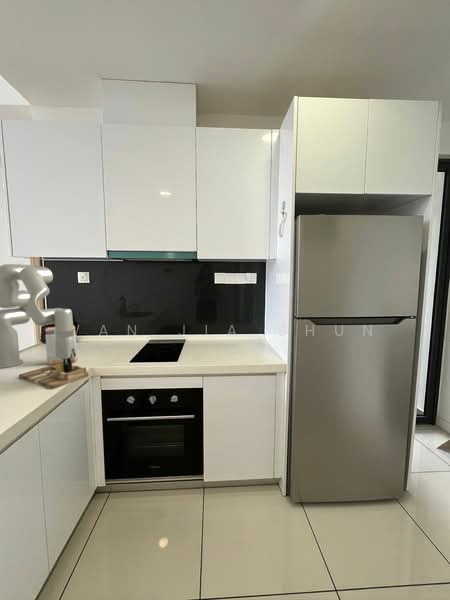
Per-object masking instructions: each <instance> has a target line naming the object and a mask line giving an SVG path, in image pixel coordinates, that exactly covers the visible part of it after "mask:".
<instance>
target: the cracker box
mask: <svg viewBox="0 0 450 600" xmlns="http://www.w3.org/2000/svg"><path fill="white" fill-rule="evenodd" d="M73 330H74V340H75V345H76V346H77V337H76V326H75V325H73ZM44 331H45V347H46V361H47V365H48V366H51V365H54V364H55V365H58V364H62V359H60V358H58V357H56V351H55V342H56V331H55V326H50V327H47V328H45V329H44ZM77 351H78V350H77V348H76V356H75V360H73V361H72V364H73V363H76V362H77V360H78V352H77Z"/></svg>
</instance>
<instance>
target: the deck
mask: <svg viewBox="0 0 450 600" xmlns="http://www.w3.org/2000/svg"><path fill="white" fill-rule="evenodd" d="M55 365H56V364H54V365H48V366H44V367H40V368H37V369H33V370H30V371H27V372H24V373H21V374H18V378H19V379H22V380H25V381H28V382H30V383H34V384H37V385H40V386H43V387H46V388H49V389H52V390H53V389H57V388H60V387H63V386H65V385H68V384H71V383H73V382H76V381H79V380H82V379H85V378H87V377H89V373H88V372H86V374H84V375H81V376H78V377H76V378H73V379H70V380H67V381H66V380H62V379H59V378H55V377H52V376H50V370H52V369H53V370H56V368H55ZM70 372H73V371H69V372H65V373H70Z"/></svg>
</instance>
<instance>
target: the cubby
mask: <svg viewBox="0 0 450 600" xmlns="http://www.w3.org/2000/svg"><path fill="white" fill-rule="evenodd" d="M72 371H73V372H70V373H64V372H60V371H56V370H53V369H52V370H50V371H49V372H50V376H52V377H55V378H59V379H62V380H66V381H67V380H70V379H73V378H76V377H78V376H81V375H84V374H86V373H87V368H86V367H84V366H80V365H76V364H72Z"/></svg>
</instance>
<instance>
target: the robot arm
mask: <svg viewBox="0 0 450 600" xmlns="http://www.w3.org/2000/svg"><path fill="white" fill-rule="evenodd" d="M53 279H54V275H53V272H52V270H51V269H49V268H48V267H45V266H40V265H35V264H21V263H20V264H18V263H16V264H15V263H12V264H11V263H9V264H2V265H0V308H2V309H0V369H3V368H4V369H5V368H11V367H17V366H19V365H21V364H23V363H24V360H23V359H21V357H20V347H19V334H18V332H17V330H16V329H15V328H14V326H17V325H23V324H27V323H29V322H30V320H32V321H33V323H34V324H35V325H36V326H41V327H42V326H49V325H54V327H55V331H56V342H55V351H56V357H58V358H60V359H62V363H63V366H64V372H69V371H72V365H73V363H72V361H73V360H75V356H76V349H77V344H76V345H75V340H74V330H73V326H74V321H73V311H72V309H70V308H61V307H56V308H44V309H40V307H39V306H38V303H37V302H38V301H41V300H42V299H44V298H46V297H47V296H48V295H49V294H50V291H51V290H50V288H49V287H48V285H47V284H49V283H51V282H52V281H53ZM19 281H22V283H23V285H24V286H25V289H26V290H23V289H22V290H20V283H19Z"/></svg>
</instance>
